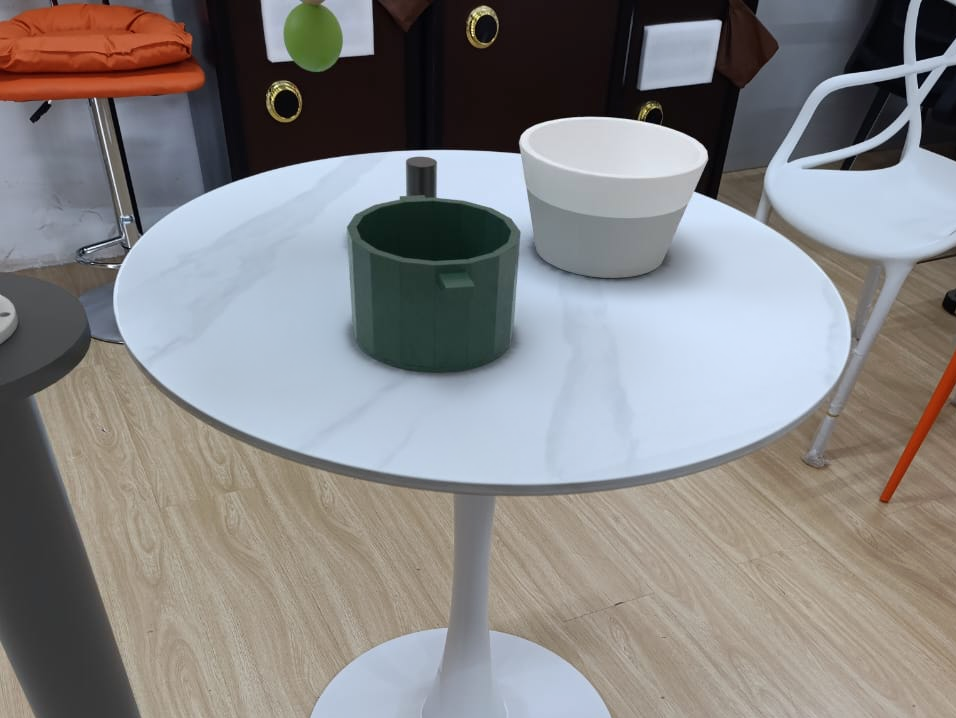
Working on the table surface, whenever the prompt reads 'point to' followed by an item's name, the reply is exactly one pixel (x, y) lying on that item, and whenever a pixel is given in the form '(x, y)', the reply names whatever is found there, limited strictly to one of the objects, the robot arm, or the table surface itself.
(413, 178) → the lid
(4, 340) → the robot arm
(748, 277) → the table surface
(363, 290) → the pot
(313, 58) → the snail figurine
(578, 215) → the bowl
